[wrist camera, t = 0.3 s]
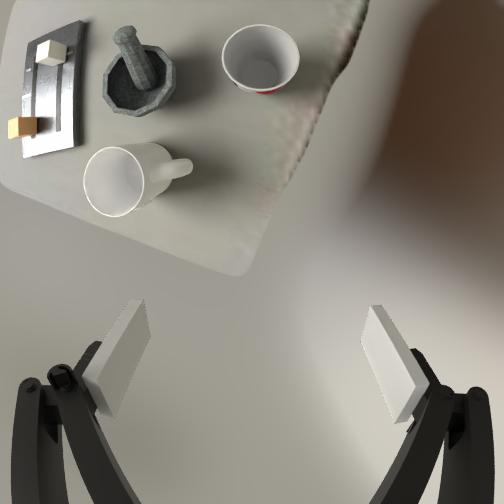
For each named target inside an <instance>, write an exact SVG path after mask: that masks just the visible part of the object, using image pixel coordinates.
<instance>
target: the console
mask: <svg viewBox="0 0 504 504" xmlns="http://www.w3.org/2000/svg"><path fill="white" fill-rule="evenodd" d="M85 25H86V23H84V22H82V21H80V20H79V21H76V22H74V23H71V24H69V25H66V26H64V27H62V28H59V29H57V30H55V31H52V32H50V33H48V34H46V35H44V36H41V37H39V38H37V39H35V40H33V41H31V42H29V43H28V47H27V54H26V62H25V71H24V83H23V99H22V117H37V134H35V135H32V136H29V137H23V138H22V145H23V158H27V157H32V156H36V155H40V154H44V153H48V152H53V151H57V150H62V149H66V148H71V147H76V146H80V131H79V97H80V74H81V60H82V49H83V40H84V32H85ZM48 40H53V41H56V42H58V43H61V44H64V45H67V50H66V60H65V62H63V63H61V64H58V65H55V66H50V65H45V64H41V63H36V54H37V47H38V45H39V44H41V43H44V42H46V41H48Z"/></svg>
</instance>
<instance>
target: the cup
mask: <svg viewBox="0 0 504 504" xmlns="http://www.w3.org/2000/svg"><path fill="white" fill-rule="evenodd" d="M299 59H300V57H299V51H298V48H297V45H296V43H295V42H294V40H293V39H292V38H291V37H290V36H289V35H288V34H287V33H286V32H284V31H282V30H281V29H279V28H276V27H274V26H270V25H263V24H257V25H250V26H247V27H244V28H241V29H240V30H238V31H236V32H235V33H234V34H232V35H231V36H230V37H229V39H228V40H227V41H226V43H225V45H224V47H223V51H222V64H223V67H224V70H225V72H226V73H227V75H228V76H229V77H230V79H231V80H232V81H233V82H234V84H235V85H236V86H237V87H239V88H240V89H242V90H243V91H245V92H248V93H251V94H256V95H264V94H270V93H273V92H275V91H278V90H279V89H281V88H282V87H283V86H284V85H285V84H286V83H287V82H288V81H289V80H290V79H291V78H292V77H293V76H294V74H295V73H296V71H297V69H298V66H299Z"/></svg>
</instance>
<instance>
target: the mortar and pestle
mask: <svg viewBox="0 0 504 504" xmlns="http://www.w3.org/2000/svg"><path fill="white" fill-rule="evenodd" d="M136 32H137V31H136V29H135V28H134V27H133V26H125V27H122V28H120V29H119V30H118V31H116V32H115V33H114V35H113V37H112V38H113V41H114V42H115V44H118V46H119V49H120V51H121V53H119V54H118V55H116V56H115V58H114V59H113V61H112V62H111V64H110V65H109V67H108V68H107V70H106V72H105V73H104V75H103V98H104V99H105V101H106V102H107V103H108V105H109V106H110V107H111V109H112V110H113V111H114V113H119V114H125V115H130V116H135V117H141V116H144V115H146V114H149V113H151V112H153V111H155V110H157V109H160V108H162V107H163V106H164V105H165V103H166V102H167V100H168V99H169V98H170V96H171V95H172V93H173V92H174V91H175V89H176V66H175V64H174V63H173V62H172V61H171V59H170V58H169V57H168V56H167V55H166V54H165V52H164V51H163V50H162V49H161V48H160V47H157V46H149V45H141V44H140V42H139V40H138V38H137V36H136Z"/></svg>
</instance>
